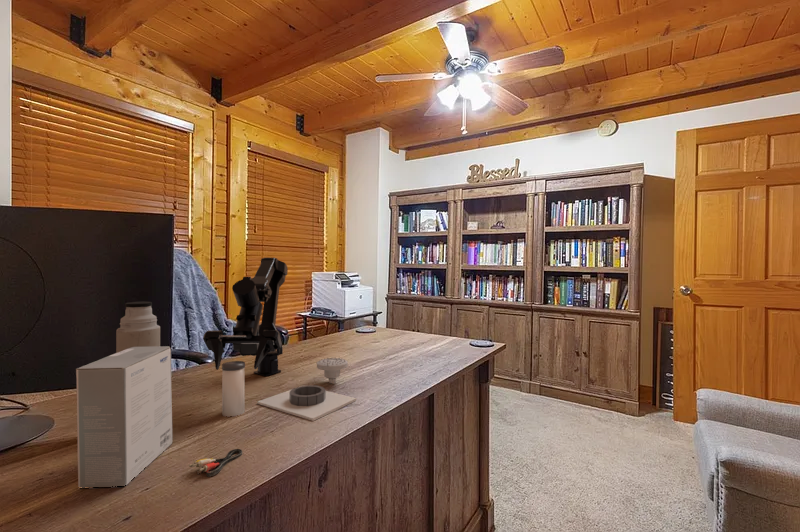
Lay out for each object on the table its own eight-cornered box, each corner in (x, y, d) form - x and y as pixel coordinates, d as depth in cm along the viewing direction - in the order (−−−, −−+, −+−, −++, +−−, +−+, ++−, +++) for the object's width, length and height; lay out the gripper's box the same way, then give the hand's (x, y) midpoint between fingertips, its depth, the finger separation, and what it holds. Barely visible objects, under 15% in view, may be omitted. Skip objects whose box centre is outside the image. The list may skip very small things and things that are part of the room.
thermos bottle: (142, 419, 90) (143, 299, 90) (168, 424, 87) (168, 301, 87) (107, 433, 82) (107, 302, 82) (134, 439, 80) (134, 304, 79)
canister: (217, 413, 93) (217, 364, 93) (236, 407, 98) (236, 360, 98) (230, 418, 91) (230, 367, 91) (249, 411, 95) (249, 362, 95)
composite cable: (237, 452, 75) (237, 439, 75) (253, 458, 73) (253, 445, 73) (187, 475, 67) (187, 461, 67) (202, 483, 64) (202, 469, 64)
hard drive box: (133, 445, 77) (133, 346, 77) (173, 443, 78) (173, 345, 78) (74, 490, 62) (75, 366, 62) (125, 488, 62) (125, 366, 62)
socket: (257, 403, 100) (257, 392, 100) (303, 387, 114) (303, 377, 114) (313, 421, 89) (313, 408, 89) (356, 400, 103) (356, 389, 103)
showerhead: (311, 362, 114) (322, 354, 124) (311, 387, 114) (321, 377, 124) (343, 363, 113) (350, 355, 123) (343, 388, 113) (350, 378, 123)
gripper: (287, 334, 114) (279, 383, 103) (221, 335, 112) (205, 385, 101) (281, 311, 106) (272, 361, 95) (211, 311, 104) (193, 362, 93)
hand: (236, 368), depth 96 cm, fingers open, 9 cm apart
